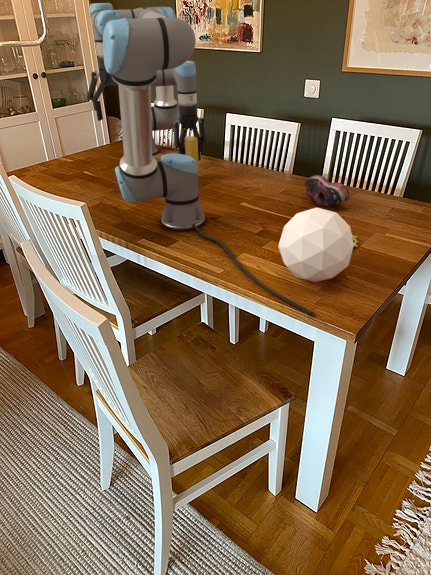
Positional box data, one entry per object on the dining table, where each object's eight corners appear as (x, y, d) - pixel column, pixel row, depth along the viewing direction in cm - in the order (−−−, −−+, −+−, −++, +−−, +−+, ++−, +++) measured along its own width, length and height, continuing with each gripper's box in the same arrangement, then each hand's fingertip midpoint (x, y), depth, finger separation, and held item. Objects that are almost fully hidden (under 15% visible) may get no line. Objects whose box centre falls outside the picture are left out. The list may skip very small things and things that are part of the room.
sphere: (322, 305, 122) (338, 279, 104) (262, 266, 127) (267, 235, 108) (357, 254, 127) (378, 220, 109) (298, 218, 132) (308, 180, 113)
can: (191, 165, 196) (190, 135, 189) (201, 168, 192) (200, 137, 185) (180, 168, 192) (178, 138, 185) (190, 172, 188) (189, 141, 181)
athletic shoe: (314, 174, 176) (289, 181, 172) (350, 168, 156) (323, 177, 152) (319, 202, 179) (295, 210, 175) (356, 200, 159) (329, 209, 155)
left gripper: (170, 109, 171) (174, 167, 183) (213, 102, 179) (214, 159, 191) (161, 105, 176) (166, 163, 189) (204, 100, 184) (206, 155, 197)
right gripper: (145, 54, 153) (152, 119, 164) (80, 55, 158) (91, 117, 170) (137, 57, 147) (144, 123, 158) (70, 57, 152) (81, 121, 164)
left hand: (190, 161), depth 190 cm, fingers closed on can, 6 cm apart
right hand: (117, 120), depth 164 cm, fingers open, 13 cm apart
